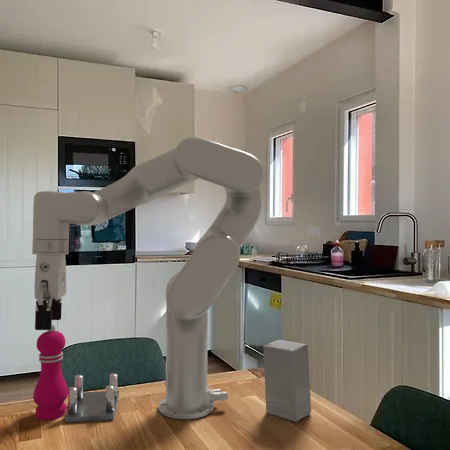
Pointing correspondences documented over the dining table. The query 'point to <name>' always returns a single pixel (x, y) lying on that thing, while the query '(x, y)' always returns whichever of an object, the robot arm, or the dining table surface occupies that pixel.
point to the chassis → (92, 402)
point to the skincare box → (287, 379)
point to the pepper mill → (50, 376)
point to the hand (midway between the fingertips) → (48, 324)
